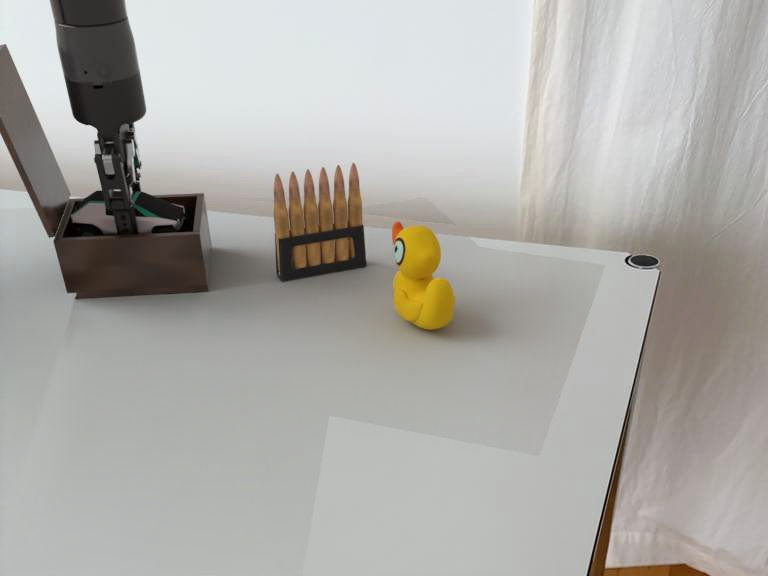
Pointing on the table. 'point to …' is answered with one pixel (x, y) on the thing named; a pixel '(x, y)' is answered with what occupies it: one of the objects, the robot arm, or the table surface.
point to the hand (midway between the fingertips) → (132, 227)
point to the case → (137, 256)
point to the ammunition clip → (318, 227)
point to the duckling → (420, 278)
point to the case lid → (30, 147)
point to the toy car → (148, 212)
